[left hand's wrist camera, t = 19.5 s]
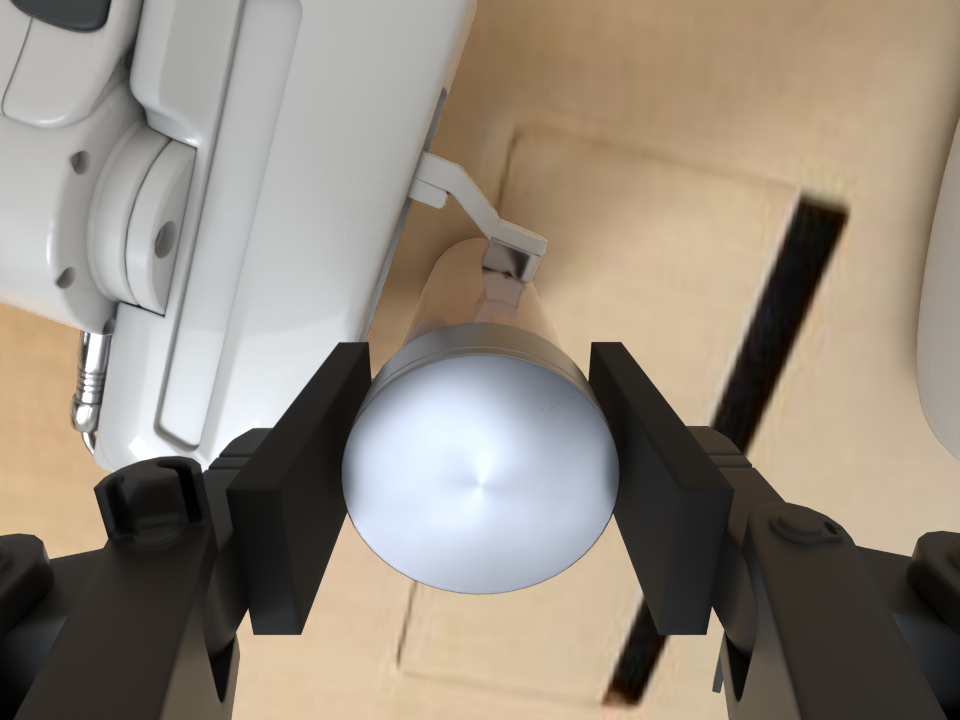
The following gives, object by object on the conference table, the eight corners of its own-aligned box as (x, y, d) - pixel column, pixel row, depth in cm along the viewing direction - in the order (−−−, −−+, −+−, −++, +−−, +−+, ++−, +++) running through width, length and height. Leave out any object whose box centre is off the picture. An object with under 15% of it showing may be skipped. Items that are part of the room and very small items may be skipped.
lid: (552, 556, 13) (563, 619, 11) (338, 502, 12) (315, 560, 11) (637, 362, 11) (667, 400, 9) (392, 289, 11) (374, 315, 9)
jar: (519, 226, 24) (577, 324, 10) (540, 325, 26) (617, 535, 11) (416, 251, 24) (326, 383, 10) (443, 348, 26) (400, 578, 12)
